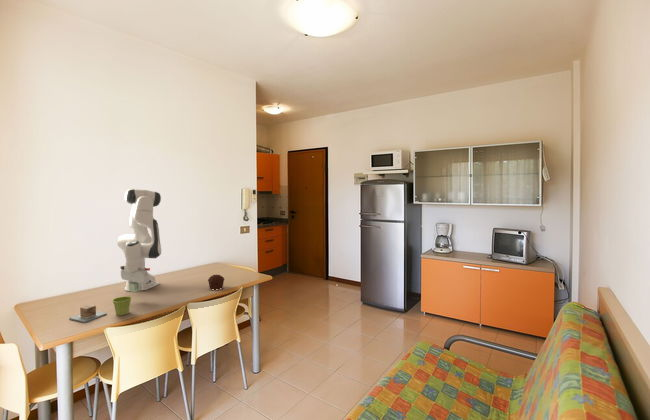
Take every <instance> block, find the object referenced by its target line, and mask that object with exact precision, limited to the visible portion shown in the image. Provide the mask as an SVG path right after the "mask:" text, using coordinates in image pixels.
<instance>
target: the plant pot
mask: <svg viewBox="0 0 650 420" xmlns="http://www.w3.org/2000/svg"><path fill="white" fill-rule="evenodd" d="M132 299H133V297H132V296H128V295H127V296H118V297H115V298H113V299H112V303H113V305H114V310H115V315H116V316H121V317H122V316H125V315H128V314H129V312H130V305H131V301H132Z"/></svg>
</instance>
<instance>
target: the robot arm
mask: <svg viewBox="0 0 650 420" xmlns="http://www.w3.org/2000/svg"><path fill="white" fill-rule="evenodd" d="M124 200H125V202H126V203H127V204H129V205H132V207H131V210H130V214H129V215H130V216H129V222H128V226H129V227H130V228H131V229H132V230H133V234H130V233H129V234H123V235H122V234H121V235H120V236H119V237H118V239H117V241H116V242H117V243H116V244H117V247H119V248H120V249H121V250H122V252H123V254H124V257H125V260H126V261H125V264H123V265H121V266H120V267H119V269H120V277H121V279H122V280H124V281H126V284H125V287H124V291H126V292H130V291H129V283H132V282H138V284H139V285H138V286H137V288H138V289H141V288H142V290H141V291H146V290H149V289H152V288H153V287H156V286H159V285H160V282H158V281H156V277H155V275H153V274H151V273H150V271H151V268H150V267H146V259H157V258H158V257H160V256H161V254H162V244H161V239H160V229H159V228H160V227H159V224H158V223H159V222H158V220H157V219H155V218H154V207H155V208H156V207H157V206H160V203H162V202H161V201H162V195H161V193H159V192H158V191H157V192H156V191H152V190H146V189H137V188H136V189H135V188H129V189H127V190H126V191H125V193H124ZM148 229H149V230H150V233H149V230H148Z"/></svg>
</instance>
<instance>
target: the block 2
mask: <svg viewBox="0 0 650 420" xmlns="http://www.w3.org/2000/svg"><path fill="white" fill-rule="evenodd" d="M138 285H139V284H138V282H132V283H129V291H128V292H132V293H137V292H139V291H143V290H142V288H141V289H138V288H137V286H138Z"/></svg>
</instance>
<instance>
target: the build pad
mask: <svg viewBox="0 0 650 420" xmlns="http://www.w3.org/2000/svg"><path fill="white" fill-rule="evenodd" d="M107 314H108V313H107V312H102V311H99V310H96V315H93V316H90V317H87V318H86V317H81V316H80V313H79V314H77V315H74V316H71V317H70V316H69V320H71V321H74V322H79V323H82V324H86V323H88V321H89V322H91V321H93V320H97V319H100V318H102V317H105V316H108V315H107ZM96 318H97V319H96Z"/></svg>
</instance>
